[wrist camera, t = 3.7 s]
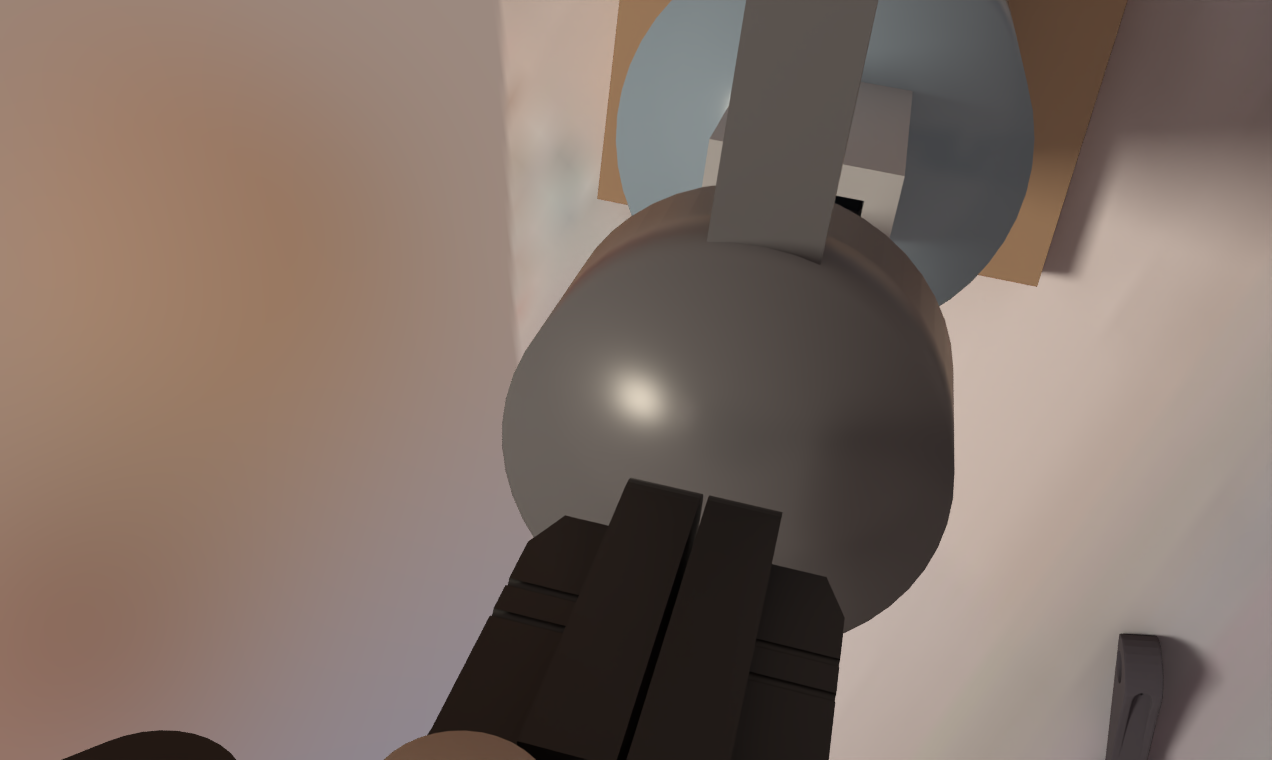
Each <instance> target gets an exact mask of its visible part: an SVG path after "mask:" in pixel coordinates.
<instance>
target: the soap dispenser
mask: <svg viewBox="0 0 1272 760" xmlns="http://www.w3.org/2000/svg"><path fill="white" fill-rule="evenodd" d="M1127 1H1128V0H878V4H877V9H876V14H875V18H874V23H873V28H872V32H871V37H870V41H869V46H868V51H867V55H866V60H865V65H864V69H863V74H862V78H861V83H860V88H859V92H858V97H857V102H856V106H855V111H854V115H853V120H852V125H851V129H850V134H849V139H848V143H847V148H846V152H845V157H844V162H843V166H842V171H841V176H840V180H839V185H838V189H837V194H836V199H835V203H836V204H838V205H840V206H842V207H844V208H846V209H847V210H849V211H851V212H853V213H855V214H856V215H858V216H860V217H862V218H864V219H865V220H866V221H868V222H869V223H870V224H872V225H873V226H875V227H876V228H877V229H879V230H880V231H881V232H883V233H884V234H885V235H887V236H888V237H889V238H890V239H891V240H892V241H893V242H894V243H895V244H896V245H897V246H898V247H899V248H900V249H901V250H902V251H903V252H904V253H905V254H906V255H907V256H908V258H909V259H910V260H911V261H912V263H913V264H914V265H915V266H916V268H917V269H918V270H919V271H920V273H921V274H922V275H923V277H924V279H925V280H926V282H927V284H928V286H929V287H930V289H931V291H932V292H933V294H934V296H935V298H936V300H937V302H938V305H939V306H940V305H942V304H943V303H945V302H947V301H948V300H950V299H951V298H952V297H954V296H955V295H956V294H957V293H958V292H960V291H961V290H962V289H963V288H964V287H966V286H967V285H968V284H969V283H970V282H971V281H972V280H973V279H974V278H975V277H976V276H977V275H981V276H986V277H991V278H996V279H1001V280H1006V281H1011V282H1016V283H1021V284H1026V285H1031V286H1036V287H1037V285H1038V282H1039V279H1040V276H1041V272H1042V269H1043V266H1044V263H1045V260H1046V257H1047V253H1048V250H1049V247H1050V244H1051V241H1052V238H1053V234H1054V231H1055V228H1056V225H1057V222H1058V219H1059V216H1060V212H1061V209H1062V206H1063V203H1064V200H1065V197H1066V193H1067V190H1068V187H1069V184H1070V181H1071V178H1072V174H1073V171H1074V168H1075V165H1076V162H1077V159H1078V156H1079V152H1080V149H1081V146H1082V143H1083V140H1084V137H1085V133H1086V130H1087V127H1088V124H1089V121H1090V118H1091V114H1092V111H1093V108H1094V105H1095V102H1096V99H1097V95H1098V92H1099V89H1100V86H1101V83H1102V80H1103V77H1104V73H1105V70H1106V67H1107V64H1108V61H1109V58H1110V54H1111V51H1112V48H1113V45H1114V42H1115V39H1116V35H1117V32H1118V29H1119V26H1120V23H1121V20H1122V17H1123V13H1124V10H1125V7H1126V4H1127ZM745 4H746V0H620V1H619V10H618V19H617V28H616V37H615V46H614V55H613V64H612V72H611V81H610V90H609V99H608V108H607V117H606V126H605V135H604V144H603V153H602V162H601V171H600V179H599V188H598V197H597V199H601V200H606V201H611V202H616V203H621V204H626V205H628V206H629V209H630V212H631V215H632V216H633V215H634V214H636V213H638V212H639V211H641V210H643V209H645V208H646V207H648V206H650V205H652V204H653V203H656V202H658V201H661V200H663V199H665V198H668V197H670V196H673V195H675V194H678V193H682V192H686V191H689V190H693V189H697V188H701V187H706V186H714V185H716V182H717V175H718V169H719V163H720V157H721V151H722V145H723V139H724V133H725V126H726V120H727V114H728V108H729V102H730V96H731V90H732V83H733V77H734V71H735V65H736V59H737V53H738V47H739V41H740V34H741V28H742V22H743V16H744V10H745Z"/></svg>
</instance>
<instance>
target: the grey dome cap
mask: <svg viewBox="0 0 1272 760" xmlns="http://www.w3.org/2000/svg"><path fill="white" fill-rule="evenodd" d="M877 4H878V0H746V4H745V10H744V16H743V22H742V28H741V34H740V41H739V47H738V53H737V59H736V65H735V71H734V77H733V83H732V90H731V96H730V102H729V108H728V114H727V120H726V126H725V133H724V139H723V145H722V151H721V157H720V163H719V169H718V175H717V182H716V185H714V186H706V187H701V188H697V189H693V190H689V191H686V192H682V193H678V194H675V195H673V196H670V197H668V198H665V199H663V200H661V201H658V202H656V203H653V204H652V205H650V206H648V207H646V208H645V209H643V210H641V211H639V212H638V213H636V214H634V215H633V216H631V217H630V218H628V219H627V220H626V221H625V222H623V223H622V224H621V225H620V226H618V227H617V228H616V229H614V230H613V231H612V232H611V233H610V234H609V235H608V236H607V237H606V238H605V239H604V240H603V241H602V242H601V244H600V245H599V246H598V247H597V248H596V249H595V250H594V252H593V253H592V254H591V256H590V257H589V259H588V260H587V262H586V263H585V264H584V266H583V267H582V269H581V270H580V272H579V273H578V275H577V276H576V277H575V279H574V280H573V282H572V283H571V285H570V286H569V288H568V289H567V291H566V292H565V294H564V295H563V297H562V298H561V300H560V301H559V302H558V304H557V305H556V307H555V308H554V310H553V311H552V313H551V314H550V316H549V317H548V319H547V320H546V322H545V323H544V324H543V326H542V327H541V329H540V330H539V332H538V333H537V335H536V336H535V338H534V339H533V341H532V342H531V344H530V345H529V347H528V348H527V349H526V351H525V353H524V355H523V357H522V359H521V361H520V363H519V365H518V367H517V369H516V371H515V373H514V375H513V378H512V381H511V384H510V388H509V391H508V394H507V397H506V402H505V409H504V415H503V422H502V448H503V455H504V463H505V470H506V474H507V478H508V481H509V485H510V488H511V492H512V495H513V497H514V500H515V502H516V504H517V507H518V509H519V511H520V513H521V516H522V518H523V520H524V522H525V523H526V525H527V527H528V529H529V530H530V532H531V534H532V535H533V537H535V536H537V535H538V534H540V533H541V532H542V531H544V530H545V529H547V528H548V527H549V526H551V525H552V524H554V523H555V522H556V521H558V520H559V519H561V518H562V517H563V516H565V515H566V516H570V517H574V518H578V519H583V520H587V521H591V522H595V523H600V524H604V525H608V526H609V523H610V521H611V519H612V516H613V514H614V512H615V509H616V507H617V505H618V502H619V500H620V498H621V495H622V493H623V490H624V488H625V486H626V484H627V482H628V480H629V479H630V478H635V479H640V480H644V481H648V482H653V483H657V484H661V485H666V486H670V487H674V488H679V489H683V490H687V491H692V492H696V493H700V494H703V504H702V511H701V516H700V522H701V518H702V515H703V512H704V509H705V506H706V502H707V499H708V497H709V495H710V496H715V497H719V498H723V499H728V500H732V501H736V502H741V503H745V504H749V505H754V506H758V507H762V508H767V509H771V510H775V511H780V512H783V513H782V518H781V523H780V527H779V532H778V537H777V542H776V547H775V551H774V556H773V561H772V564H774V565H778V566H782V567H787V568H791V569H795V570H799V571H803V572H808V573H812V574H816V575H820V576H824V577H827V579H828V581H829V584H830V586H831V588H832V590H833V593H834V595H835V597H836V599H837V601H838V604H839V606H840V608H841V610H842V613H843V615H844V617H845V620H844V629H843V633H845V632H847V631H849V630H851V629H853V628H855V627H857V626H859V625H861V624H863V623H865V622H867V621H869V620H870V619H872V618H873V617H875V616H876V615H878V614H879V613H881V612H882V611H883V610H885V609H886V608H888V607H889V606H891V605H892V604H893V603H894V602H895V601H896V600H897V599H898V598H899V597H900V596H902V595H903V594H904V593H905V592H906V591H907V590H908V589H909V588H910V587H911V586H912V584H913V583H914V582H915V581H916V579H917V578H918V577H919V576H920V575H921V573H922V572H923V571H924V570H925V568H926V566H927V565H928V563H929V561H930V560H931V558H932V556H933V555H934V553H935V551H936V550H937V548H938V546H939V543H940V541H941V538H942V536H943V533H944V531H945V528H946V526H947V522H948V518H949V513H950V509H951V504H952V500H953V487H954V396H953V361H952V351H951V343H950V339H949V335H948V331H947V327H946V323H945V319H944V317H943V315H942V312H941V310H940V307H939V305H938V302H937V300H936V298H935V296H934V294H933V292H932V291H931V289H930V287H929V286H928V284H927V282H926V280H925V279H924V277H923V275H922V274H921V273H920V271H919V270H918V269H917V268H916V266H915V265H914V264H913V263H912V261H911V260H910V259H909V258H908V256H907V255H906V254H905V253H904V252H903V251H902V250H901V249H900V248H899V247H898V246H897V245H896V244H895V243H894V242H893V241H892V240H891V239H890V238H889V237H888V236H887V235H885V234H884V233H883V232H881V231H880V230H879V229H877V228H876V227H875V226H873V225H872V224H870V223H869V222H868V221H866V220H865V219H864V218H862V217H860V216H858V215H856V214H855V213H853V212H851V211H849V210H847V209H846V208H844V207H842V206H840V205H838V204H836V203H835V199H836V194H837V189H838V185H839V180H840V176H841V171H842V166H843V162H844V157H845V152H846V148H847V143H848V139H849V134H850V129H851V125H852V120H853V115H854V111H855V106H856V102H857V97H858V92H859V88H860V83H861V78H862V74H863V69H864V65H865V60H866V55H867V51H868V46H869V41H870V37H871V32H872V28H873V23H874V18H875V14H876V9H877ZM700 522H699V525H700ZM698 528H699V527H698Z"/></svg>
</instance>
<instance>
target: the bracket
mask: <svg viewBox="0 0 1272 760" xmlns="http://www.w3.org/2000/svg"><path fill="white" fill-rule="evenodd" d="M1162 697H1163V665H1162V654H1161V647H1160V643H1159V640H1158V638H1157V636H1147V635H1131V634H1119V642H1118V651H1117V661H1116V669H1115V678H1114V687H1113V697H1112V706H1111V715H1110V724H1109V733H1108V742H1107V751H1106V759H1105V760H1147V759H1148V754H1149V750H1150V746H1151V742H1152V737H1153V733H1154V729H1155V725H1156V720H1157V717H1158V713H1159V710H1160V707H1161V703H1162Z"/></svg>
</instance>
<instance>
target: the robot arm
mask: <svg viewBox="0 0 1272 760" xmlns="http://www.w3.org/2000/svg"><path fill="white" fill-rule="evenodd" d="M702 504H703V494H700V493H696V492H692V491H687V490H683V489H679V488H674V487H670V486H666V485H661V484H657V483H653V482H648V481H644V480H640V479H635V478H630V479H629V480H628V482H627V484H626V486H625V488H624V490H623V493H622V495H621V498H620V500H619V502H618V505H617V507H616V509H615V512H614V514H613V516H612V519H611V521H610V523H609V526H608V525H604V524H600V523H595V522H591V521H587V520H583V519H578V518H574V517H570V516H566V515H565V516H563V517H562V518H561V519H559V520H558V521H556V522H555V523H554V524H552V525H551V526H549V527H548V528H547V529H545V530H544V531H542V532H541V533H540V534H538V535H537V536H535V537H534V538H533V539H531V540H530V541H528V543H527V545H526V547H525V549H524V551H523V553H522V554H521V556H520V558H519V560H518V562H517V564H516V566H515V568H514V570H513V572H512V574H511V576H510V578H509V582H508V585H506V586H505V587H504V589H503V591H502V593H501V595H500V597H499V599H498V601H497V603H496V605H495V607H494V610H493V614H492V616H490V617H489V618H488V620H487V622H486V624H485V626H484V628H483V630H482V632H481V634H480V636H479V638H478V640H477V642H476V644H475V646H474V647H473V649H472V651H471V653H470V655H469V657H468V659H467V661H466V663H465V665H464V667H463V669H462V671H461V673H460V674H459V676H458V678H457V680H456V682H455V684H454V686H453V688H452V690H451V692H450V694H449V696H448V698H447V700H446V702H445V704H444V706H443V707H442V710H441V711H440V713H439V715H438V717H437V719H436V721H435V723H434V725H433V727H432V729H431V730H430V732H429V733H428V735H427V736H423V737H420V738H417V739H415V740H413V741H411V742H408V743H406V744H404V745H403V746H401V747H400V748H398V749H397V750H395V751H393V752H392V753H391V754H390V755H389V756H388V757H386V758H385V759H384V760H829V752H830V743H831V735H832V726H833V717H834V708H835V696H836V691H837V682H838V673H839V661H840V655H841V647H842V638H843V629H844V620H845V617H844V615H843V613H842V610H841V608H840V606H839V604H838V601H837V599H836V597H835V595H834V593H833V590H832V588H831V586H830V584H829V581H828V579H827V577H824V576H820V575H816V574H812V573H808V572H803V571H799V570H795V569H791V568H787V567H782V566H778V565H774V564H772V561H773V556H774V551H775V547H776V542H777V537H778V532H779V527H780V523H781V518H782V513H783V512H780V511H775V510H771V509H767V508H762V507H758V506H754V505H749V504H745V503H741V502H736V501H732V500H728V499H723V498H719V497H715V496H710V495H709V497H708V499H707V502H706V506H705V509H704V512H703V515H702V518H701V522H700V516H701V511H702ZM699 522H700V525H699ZM698 527H699V528H698ZM63 760H236V759H235V758H234V757H233V755H232V754H231V753H230V752H228V751H227V750H226V749H225V748H223V747H222V746H221V745H219V744H217V743H215V742H214V741H212V740H210V739H208V738H205V737H202V736H199V735H196V734H192V733H186V732H180V731H163V730H161V731H160V730H159V731H149V732H140V733H136V734H131V735H126V736H123V737H120V738H117V739H114V740H111V741H108V742H105V743H103V744H100V745H98V746H95V747H93V748H90V749H88V750H85V751H83V752H80V753H78V754H75V755H73V756H70V757H68V758H65V759H63Z"/></svg>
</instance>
